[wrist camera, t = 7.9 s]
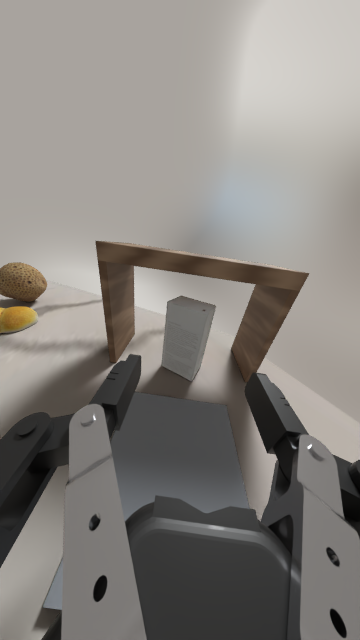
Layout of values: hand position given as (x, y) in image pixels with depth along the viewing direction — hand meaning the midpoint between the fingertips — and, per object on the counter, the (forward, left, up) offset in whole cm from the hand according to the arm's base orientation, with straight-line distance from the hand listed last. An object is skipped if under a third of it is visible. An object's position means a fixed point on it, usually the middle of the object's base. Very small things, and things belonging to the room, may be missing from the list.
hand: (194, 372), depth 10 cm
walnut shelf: (-7, +12, -11) cm, 18 cm away
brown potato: (-50, +2, -11) cm, 51 cm away
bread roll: (-39, -5, -11) cm, 41 cm away
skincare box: (-6, +10, -11) cm, 16 cm away
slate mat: (+1, -2, -11) cm, 11 cm away
